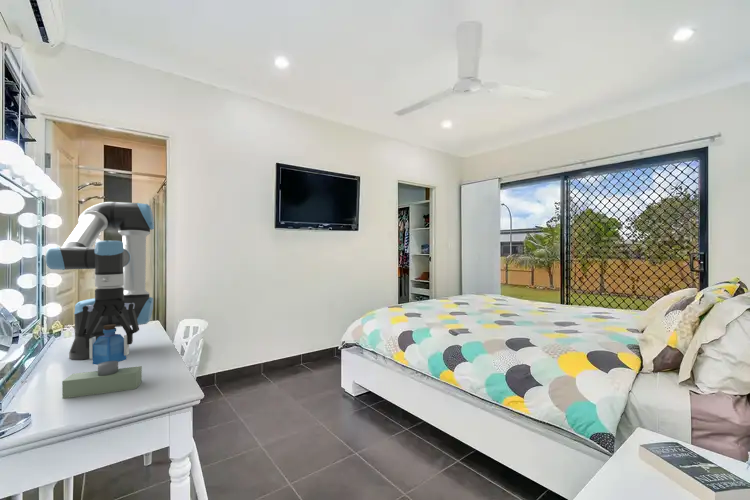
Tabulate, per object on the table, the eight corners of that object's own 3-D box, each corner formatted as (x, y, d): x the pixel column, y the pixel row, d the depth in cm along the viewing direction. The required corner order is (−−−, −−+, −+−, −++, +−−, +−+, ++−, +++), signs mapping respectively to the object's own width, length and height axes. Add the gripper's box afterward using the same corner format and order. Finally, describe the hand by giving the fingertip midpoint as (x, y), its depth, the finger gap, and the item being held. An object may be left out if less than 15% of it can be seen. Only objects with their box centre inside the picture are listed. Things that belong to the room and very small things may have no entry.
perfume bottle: (108, 365, 109) (108, 327, 109) (92, 364, 110) (92, 327, 110) (126, 359, 115) (126, 323, 115) (111, 358, 116) (110, 323, 116)
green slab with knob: (84, 380, 113) (84, 356, 113) (148, 372, 119) (148, 350, 120) (62, 398, 99) (62, 370, 99) (136, 388, 106) (135, 362, 106)
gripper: (63, 290, 105) (63, 363, 105) (144, 286, 113) (144, 355, 113) (74, 287, 112) (74, 356, 112) (150, 284, 120) (150, 349, 120)
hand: (109, 355), depth 112 cm, fingers closed on perfume bottle, 8 cm apart
